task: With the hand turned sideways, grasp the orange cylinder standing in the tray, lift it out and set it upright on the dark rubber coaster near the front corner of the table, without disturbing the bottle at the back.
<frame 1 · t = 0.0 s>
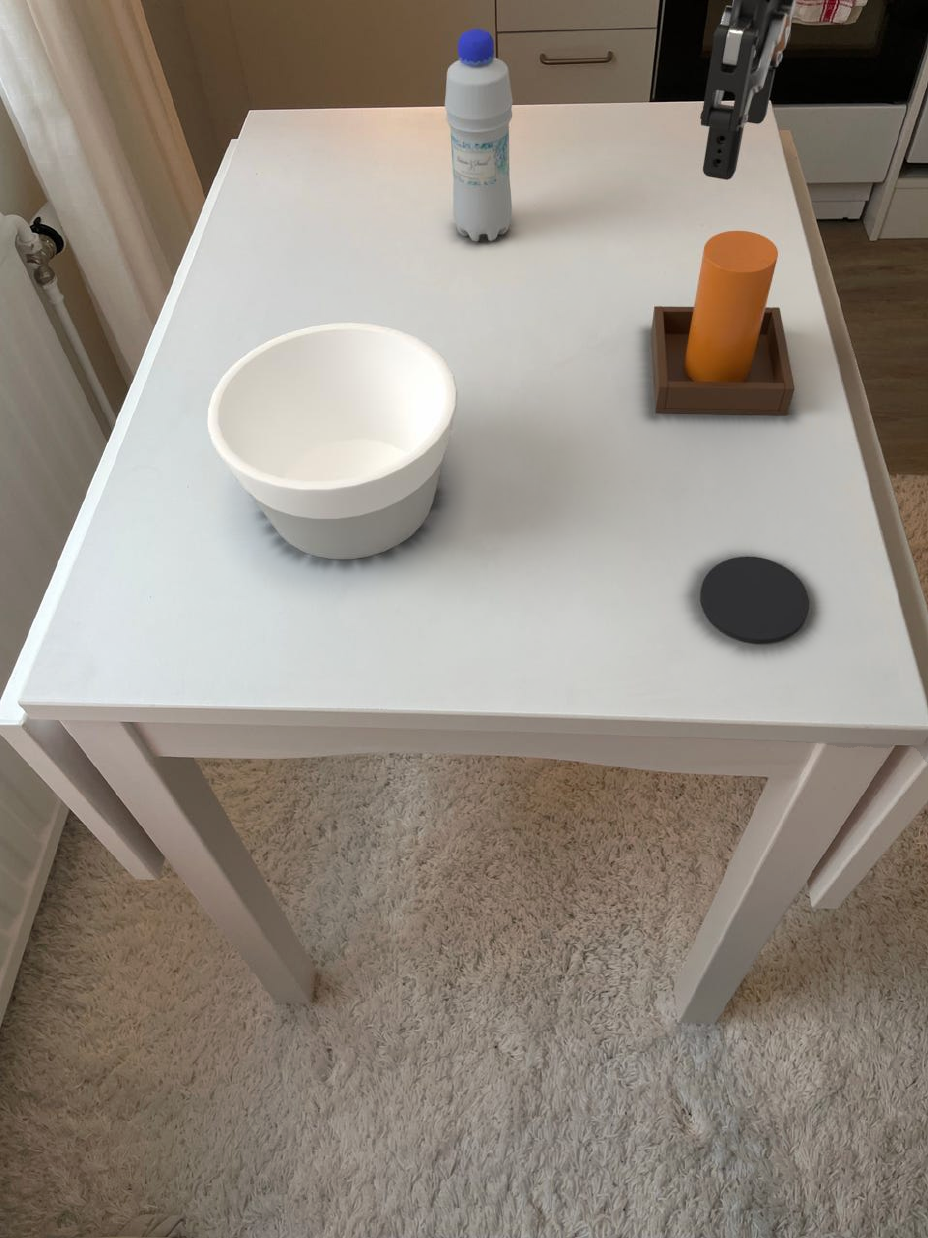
hand: (734, 146, 70), 22 cm above the table, tool pointing down, fingers open, 8 cm apart
orange cylinder: (716, 367, 88), resting on tray
bottle: (483, 231, 105), on the table
tray: (716, 371, 89), on the table
bowl: (352, 498, 82), on the table
coaster: (753, 601, 73), on the table
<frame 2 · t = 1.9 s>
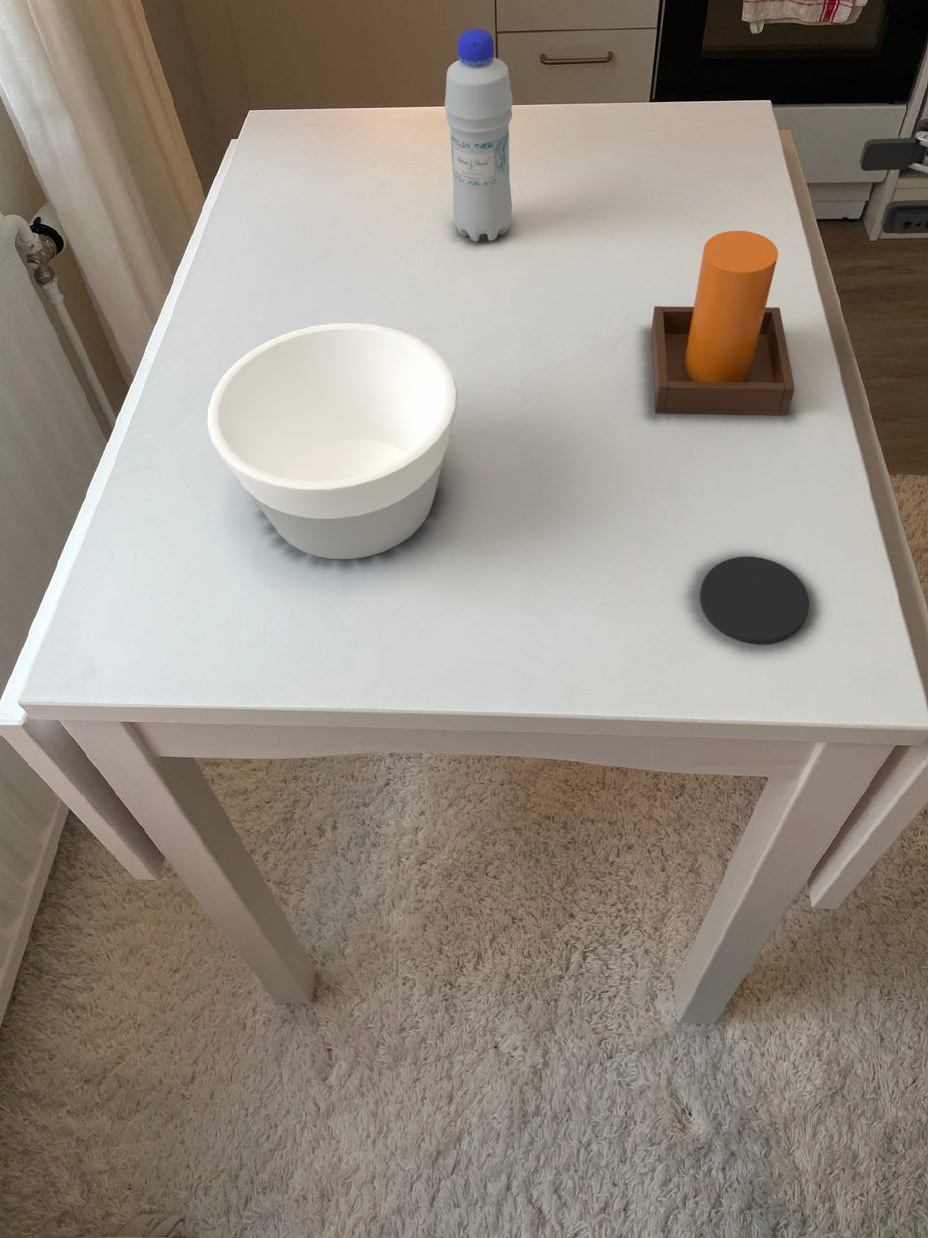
hand: (873, 185, 73), 18 cm above the table, tool horizontal, fingers open, 8 cm apart
nothing on the table moved.
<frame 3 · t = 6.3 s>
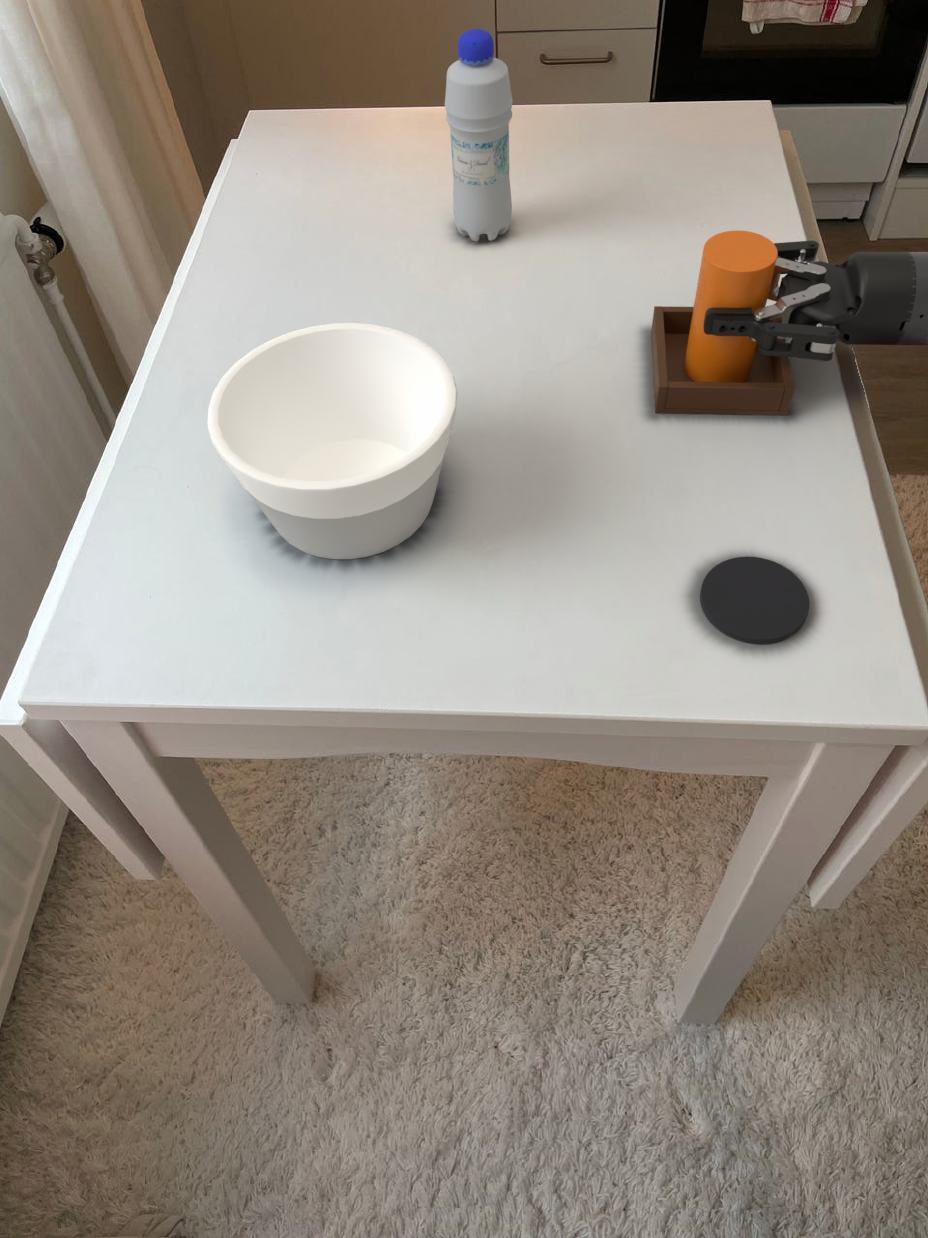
hand: (703, 297, 83), 8 cm above the table, tool horizontal, fingers closed on orange cylinder, 6 cm apart
orange cylinder: (716, 367, 88), point 1 cm above the table, touching tray, gripper
everything else where it was.
when the fingers open (8 cm above the table, at t = 15.1 s): orange cylinder stays where it is, resting on coaster.
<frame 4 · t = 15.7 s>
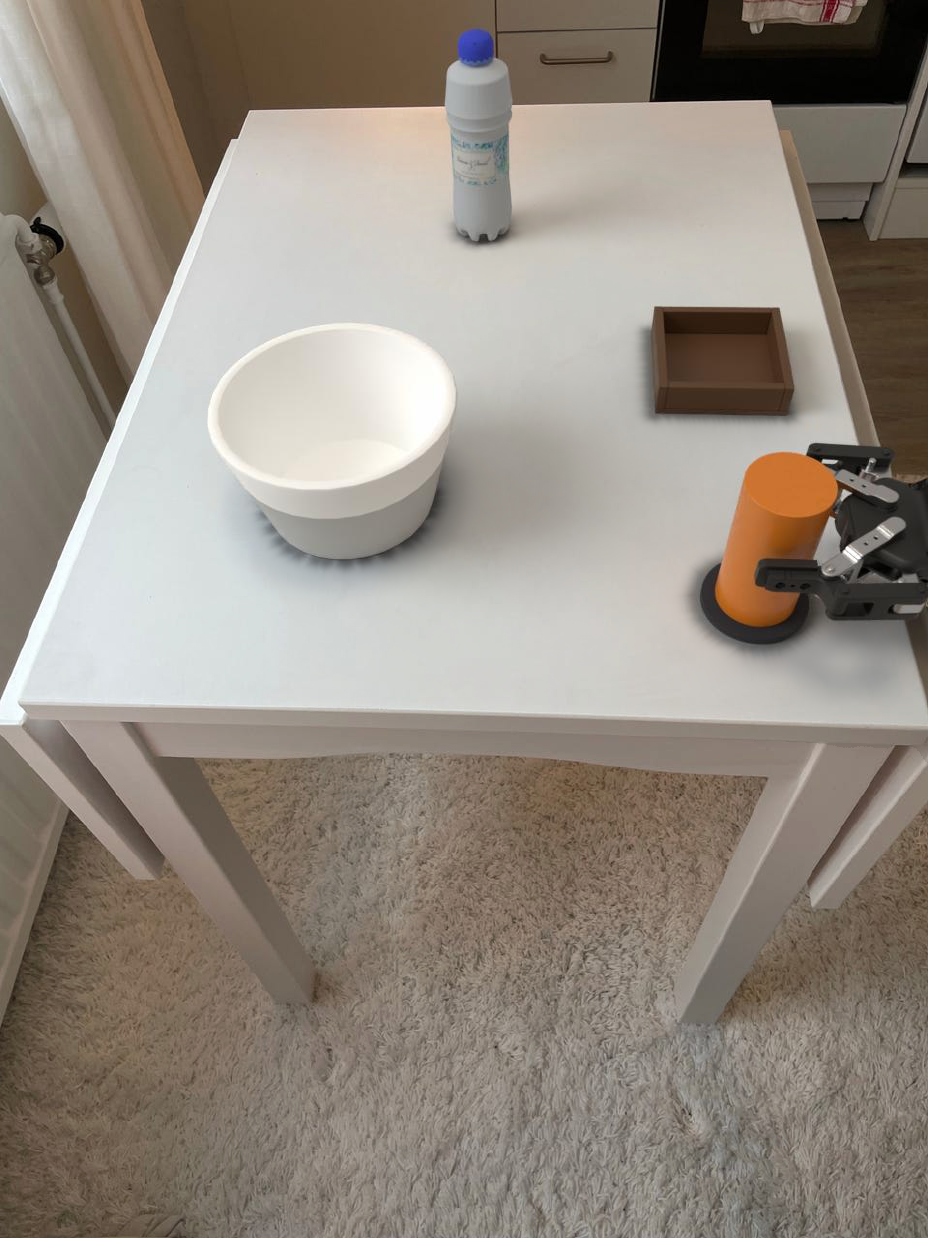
hand: (750, 525, 66), 9 cm above the table, tool horizontal, fingers open, 8 cm apart
orange cylinder: (755, 595, 72), point 1 cm above the table, touching coaster
everything else where it was.
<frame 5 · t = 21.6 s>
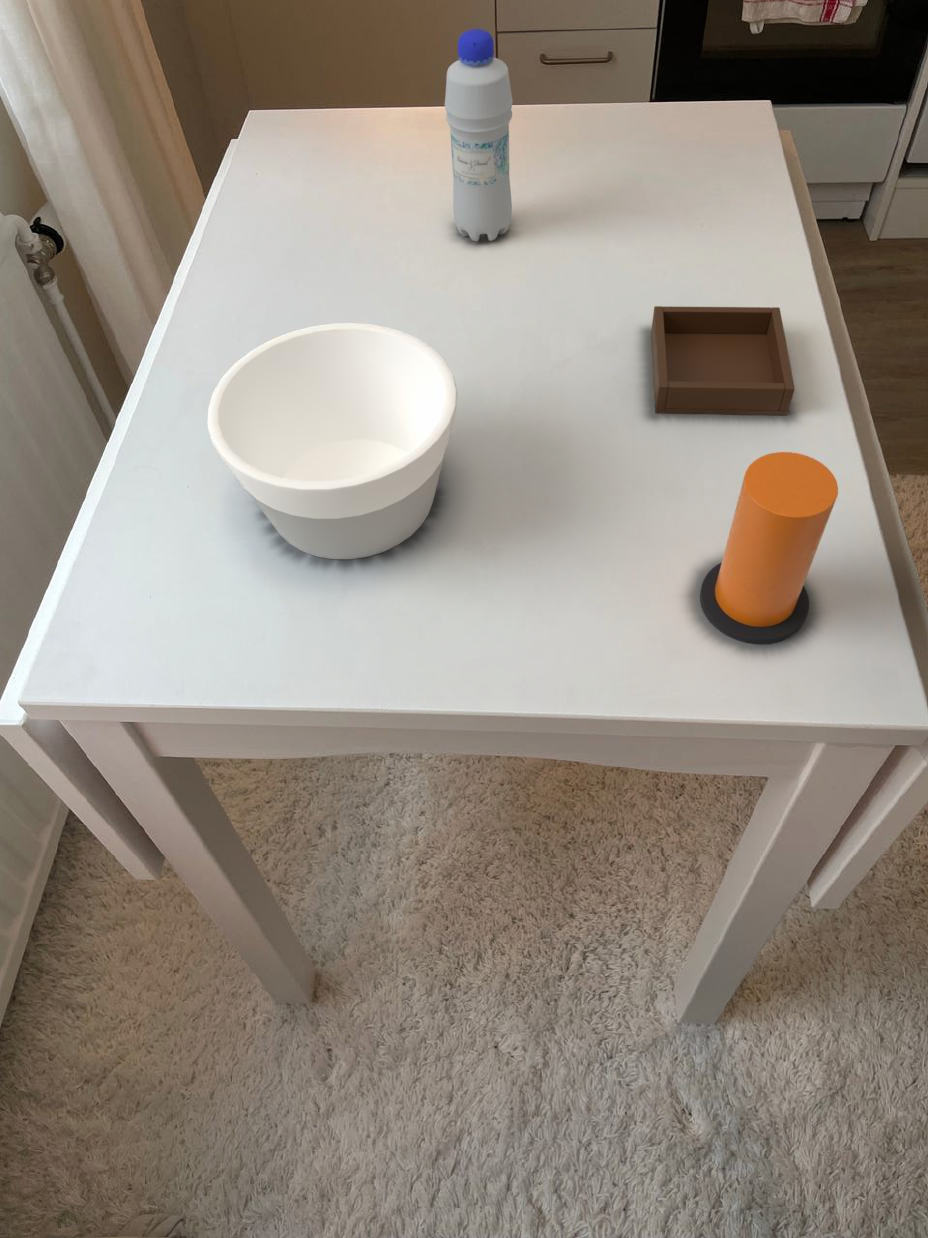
nothing on the table moved.
at the end: orange cylinder 0.1 cm off-centre on the coaster, point 0.6 cm above the coaster's base; orange cylinder tilted 0°; bottle moved 0.2 cm from its start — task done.
